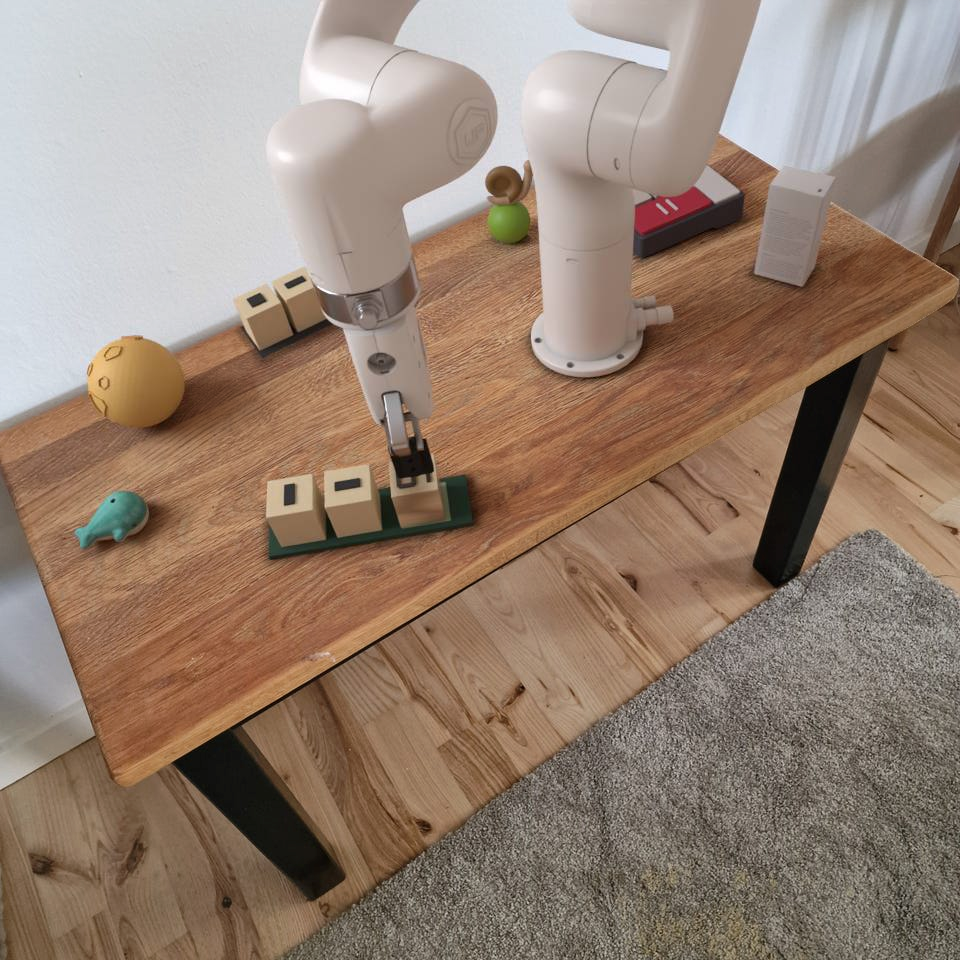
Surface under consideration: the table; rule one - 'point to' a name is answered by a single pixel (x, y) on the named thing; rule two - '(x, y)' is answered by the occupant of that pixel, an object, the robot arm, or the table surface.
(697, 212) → the calculator
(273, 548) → the mat
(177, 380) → the stress ball
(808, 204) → the cosmetic box
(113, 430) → the table surface
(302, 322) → the far word mat
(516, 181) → the snail figurine
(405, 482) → the tile
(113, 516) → the whale figurine
